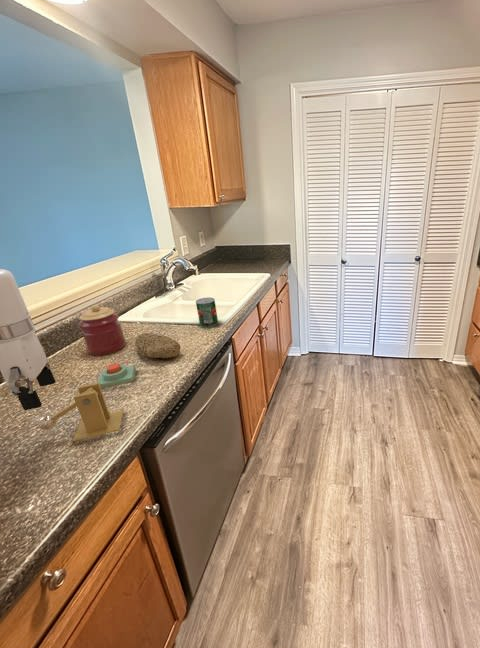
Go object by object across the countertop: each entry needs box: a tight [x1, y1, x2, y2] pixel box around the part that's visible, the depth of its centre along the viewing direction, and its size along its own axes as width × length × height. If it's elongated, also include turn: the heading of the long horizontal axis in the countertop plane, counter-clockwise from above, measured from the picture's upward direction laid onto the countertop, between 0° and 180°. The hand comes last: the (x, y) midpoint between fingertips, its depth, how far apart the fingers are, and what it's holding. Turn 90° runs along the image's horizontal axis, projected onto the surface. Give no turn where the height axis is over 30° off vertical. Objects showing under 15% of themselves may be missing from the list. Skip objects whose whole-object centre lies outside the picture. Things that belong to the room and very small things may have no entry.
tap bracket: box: [72, 381, 124, 442], centre depth 80 cm, size 10×8×12 cm
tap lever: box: [37, 387, 98, 431], centre depth 78 cm, size 14×4×4 cm, turn 111°
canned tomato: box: [195, 297, 219, 328], centre depth 140 cm, size 8×8×11 cm
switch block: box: [96, 364, 137, 389], centre depth 102 cm, size 10×8×4 cm
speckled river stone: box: [134, 332, 182, 359], centre depth 117 cm, size 13×8×20 cm
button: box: [106, 362, 121, 374], centre depth 101 cm, size 4×4×2 cm
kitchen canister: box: [78, 304, 126, 356], centre depth 121 cm, size 13×13×18 cm
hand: (41, 395), depth 75 cm, fingers open, 9 cm apart
